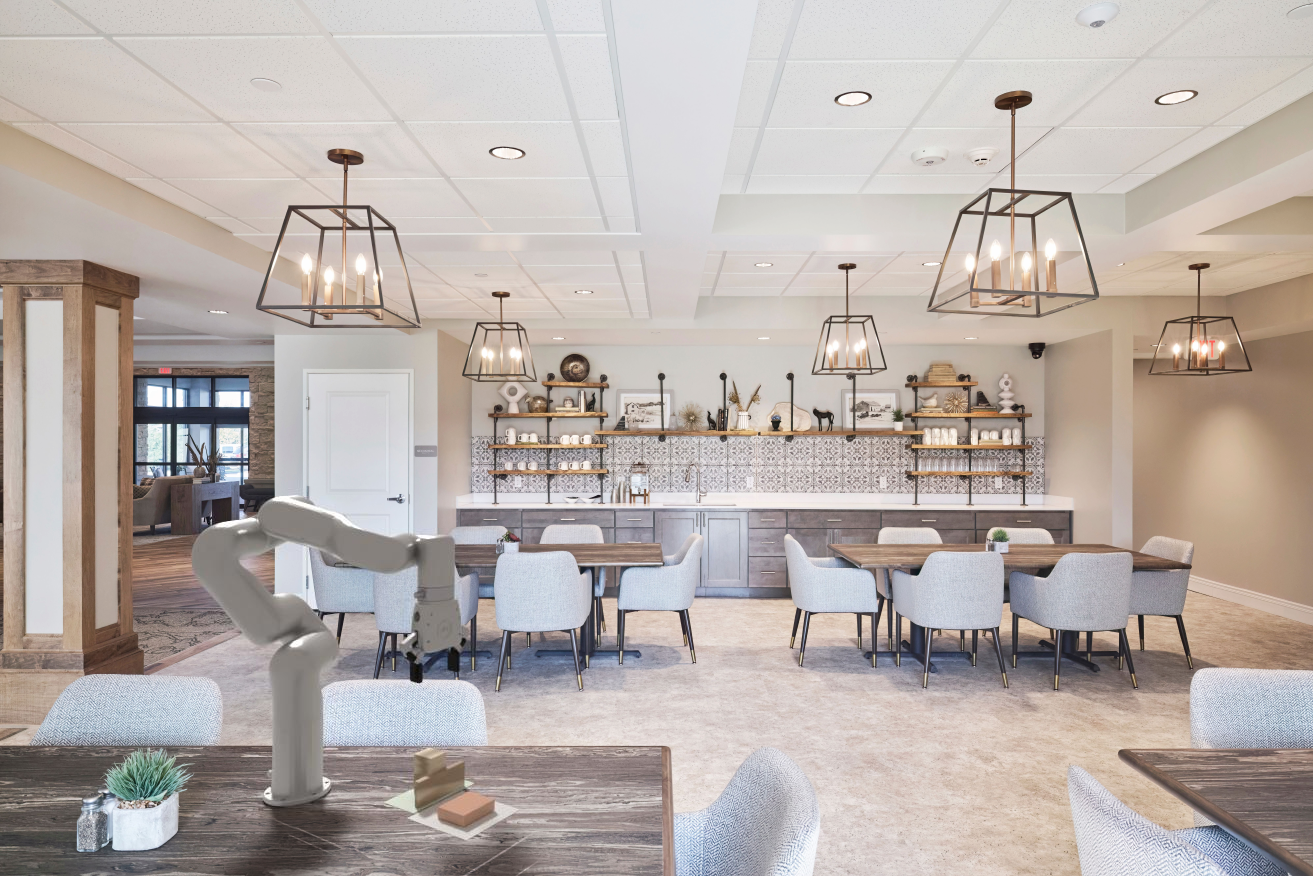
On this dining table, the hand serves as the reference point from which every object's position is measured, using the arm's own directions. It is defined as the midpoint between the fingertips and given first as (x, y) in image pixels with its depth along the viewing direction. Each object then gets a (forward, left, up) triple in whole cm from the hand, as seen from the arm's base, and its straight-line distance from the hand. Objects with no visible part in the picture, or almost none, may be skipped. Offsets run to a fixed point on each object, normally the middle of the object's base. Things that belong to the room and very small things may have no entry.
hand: (435, 676), depth 157 cm
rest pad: (+1, -2, -23) cm, 23 cm away
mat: (+14, -5, -23) cm, 28 cm away
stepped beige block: (+1, -2, -23) cm, 23 cm away
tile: (+11, -5, -22) cm, 25 cm away
